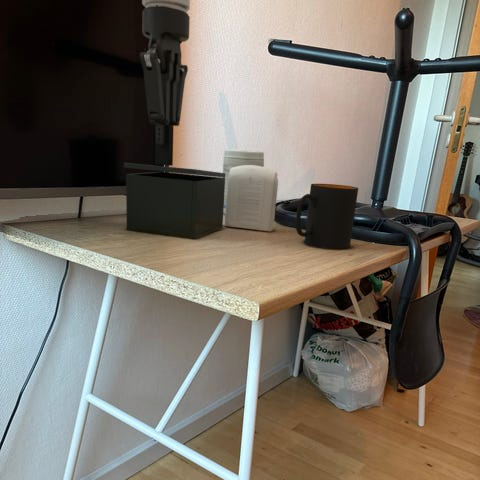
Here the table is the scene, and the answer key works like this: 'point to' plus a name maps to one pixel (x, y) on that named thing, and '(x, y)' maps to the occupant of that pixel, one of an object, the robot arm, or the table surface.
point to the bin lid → (174, 170)
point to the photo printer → (251, 197)
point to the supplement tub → (239, 163)
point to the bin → (174, 204)
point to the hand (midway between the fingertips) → (163, 164)
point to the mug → (328, 216)
